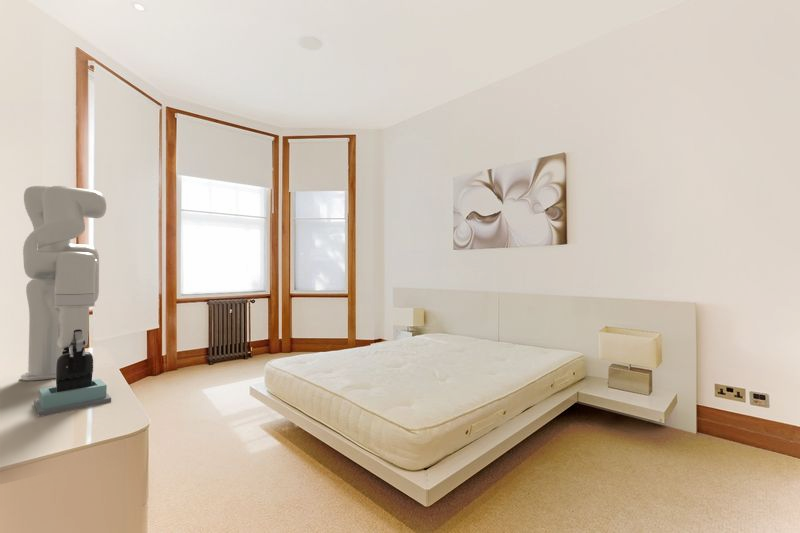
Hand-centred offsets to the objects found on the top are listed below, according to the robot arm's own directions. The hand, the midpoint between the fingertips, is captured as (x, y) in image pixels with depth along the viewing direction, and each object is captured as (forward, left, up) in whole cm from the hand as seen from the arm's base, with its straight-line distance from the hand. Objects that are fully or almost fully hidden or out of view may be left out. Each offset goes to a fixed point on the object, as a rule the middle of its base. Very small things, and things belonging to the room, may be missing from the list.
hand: (73, 369), depth 91 cm
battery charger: (+1, 0, -8) cm, 7 cm away
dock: (0, 0, -8) cm, 8 cm away
